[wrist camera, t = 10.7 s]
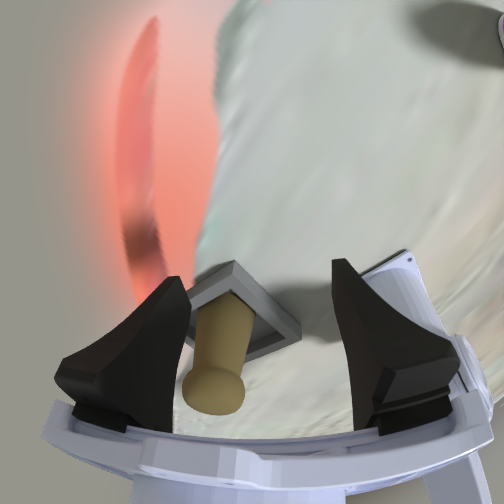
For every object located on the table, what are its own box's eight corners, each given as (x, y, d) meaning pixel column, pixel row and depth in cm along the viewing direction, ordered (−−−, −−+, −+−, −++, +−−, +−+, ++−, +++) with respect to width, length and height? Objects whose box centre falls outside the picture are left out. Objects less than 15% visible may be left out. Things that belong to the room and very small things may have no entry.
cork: (211, 334, 30) (194, 422, 21) (188, 296, 27) (159, 392, 18) (262, 327, 29) (257, 421, 20) (245, 286, 26) (233, 391, 17)
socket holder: (300, 325, 29) (301, 339, 28) (226, 357, 34) (224, 369, 32) (234, 260, 25) (232, 273, 23) (160, 307, 29) (155, 320, 28)
